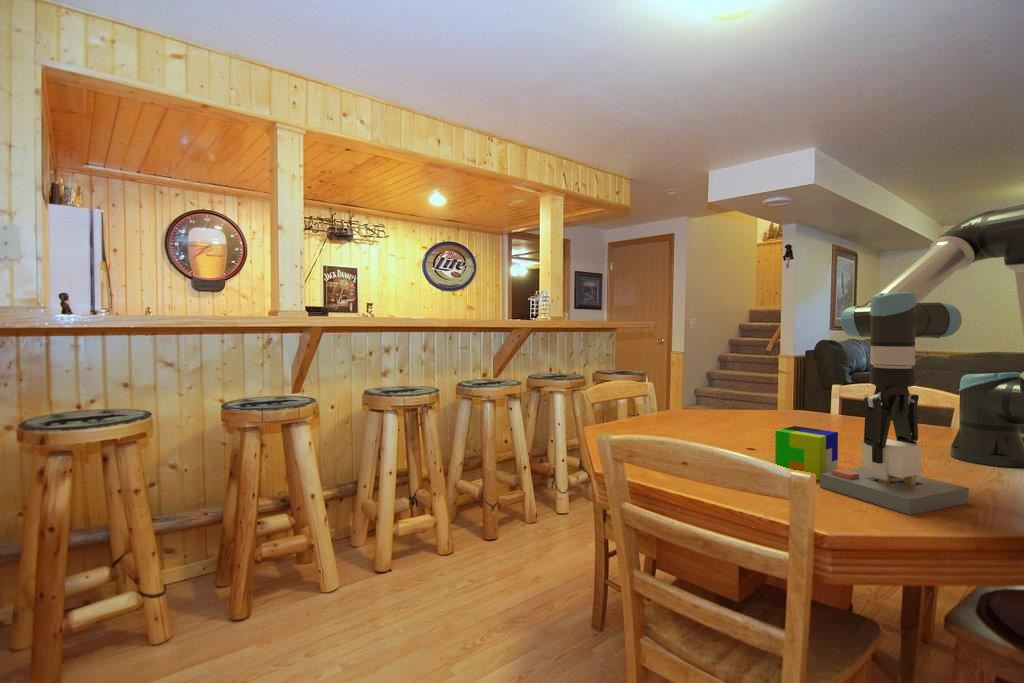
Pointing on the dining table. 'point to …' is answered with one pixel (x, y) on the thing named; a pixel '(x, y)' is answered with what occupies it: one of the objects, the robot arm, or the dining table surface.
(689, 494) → the dining table surface
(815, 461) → the puzzle toy
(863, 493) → the socket plate
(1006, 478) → the dining table surface
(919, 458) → the plug
